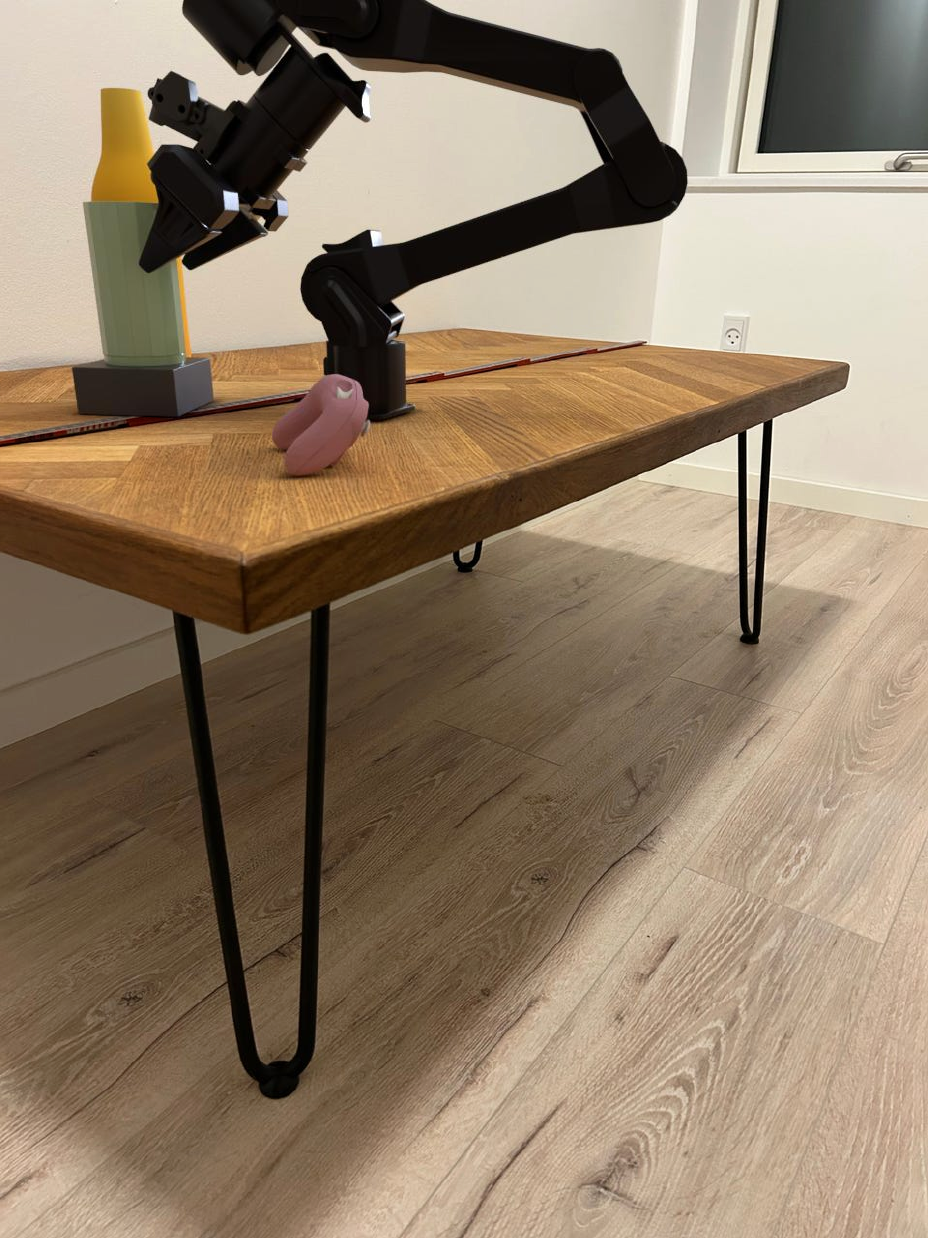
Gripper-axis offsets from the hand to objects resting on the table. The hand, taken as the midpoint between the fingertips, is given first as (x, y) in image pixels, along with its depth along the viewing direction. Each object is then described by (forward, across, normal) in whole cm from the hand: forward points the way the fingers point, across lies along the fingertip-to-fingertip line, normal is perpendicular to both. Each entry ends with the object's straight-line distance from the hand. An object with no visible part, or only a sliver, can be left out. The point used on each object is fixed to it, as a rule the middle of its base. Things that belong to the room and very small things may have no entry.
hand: (165, 267), depth 78 cm
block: (+11, 0, +6) cm, 12 cm away
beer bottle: (+19, -28, -2) cm, 33 cm away
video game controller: (-4, +19, +21) cm, 29 cm away
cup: (+8, 0, +4) cm, 8 cm away
